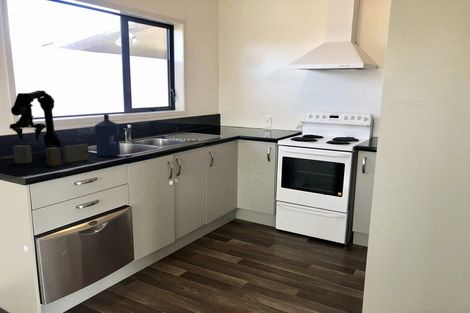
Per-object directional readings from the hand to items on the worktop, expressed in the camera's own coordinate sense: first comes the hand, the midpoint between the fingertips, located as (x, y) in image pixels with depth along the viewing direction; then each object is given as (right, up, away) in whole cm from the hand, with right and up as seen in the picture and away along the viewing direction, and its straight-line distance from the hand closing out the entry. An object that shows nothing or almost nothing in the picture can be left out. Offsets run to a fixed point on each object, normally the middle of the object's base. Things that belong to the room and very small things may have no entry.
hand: (29, 140), depth 219 cm
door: (+24, -13, +11) cm, 29 cm away
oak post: (+14, -15, +2) cm, 20 cm away
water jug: (+36, -9, +35) cm, 51 cm away
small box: (-8, -14, +8) cm, 18 cm away
